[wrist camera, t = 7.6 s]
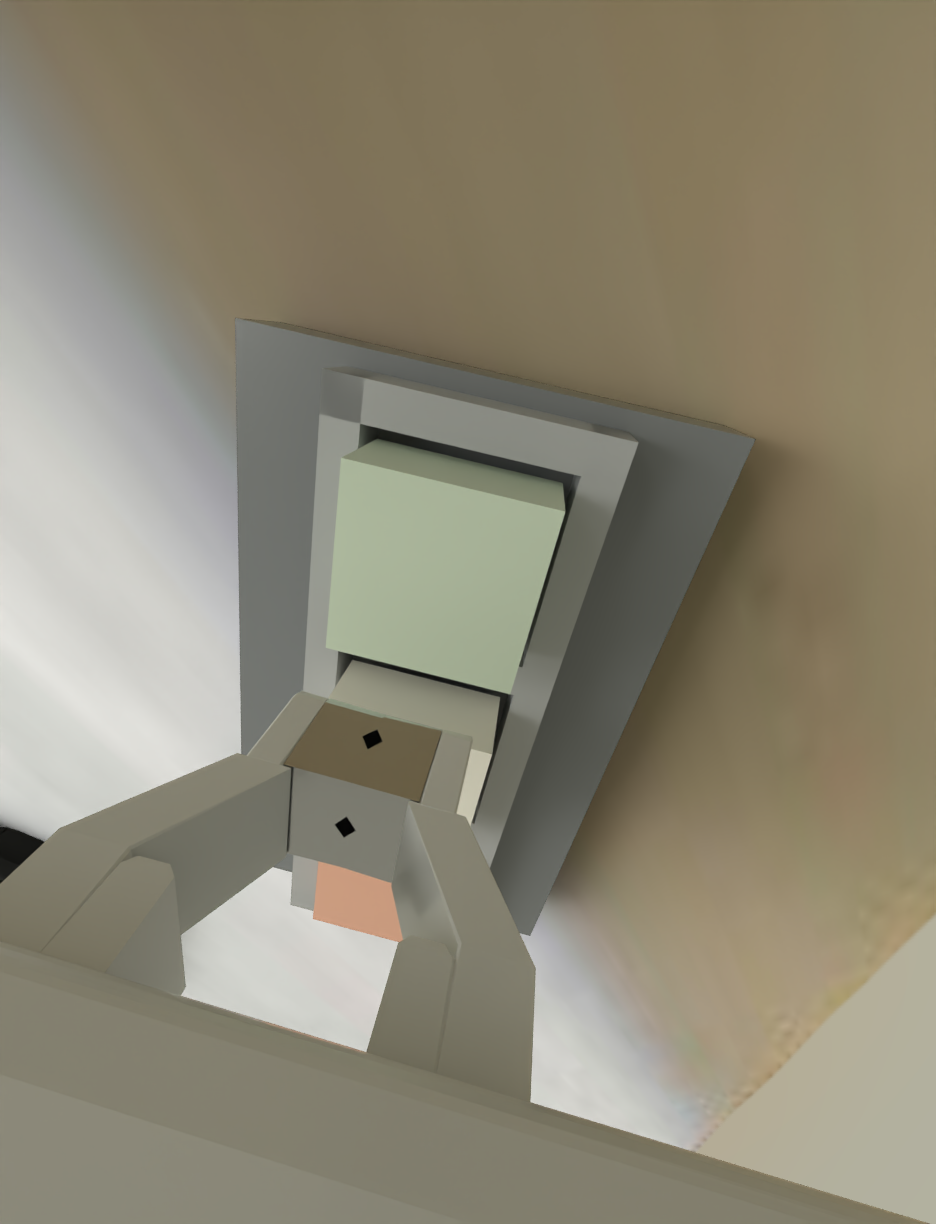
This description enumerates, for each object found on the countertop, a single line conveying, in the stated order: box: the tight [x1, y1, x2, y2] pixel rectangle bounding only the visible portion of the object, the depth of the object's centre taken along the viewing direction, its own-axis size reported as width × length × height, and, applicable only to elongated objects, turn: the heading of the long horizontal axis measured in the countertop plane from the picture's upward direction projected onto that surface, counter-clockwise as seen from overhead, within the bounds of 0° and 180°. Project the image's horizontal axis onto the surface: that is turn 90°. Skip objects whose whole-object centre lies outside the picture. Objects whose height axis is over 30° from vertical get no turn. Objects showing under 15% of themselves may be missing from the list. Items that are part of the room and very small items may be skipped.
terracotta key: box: [313, 861, 403, 942], centre depth 24 cm, size 6×6×3 cm
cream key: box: [328, 660, 500, 826], centre depth 19 cm, size 6×6×3 cm
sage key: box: [326, 439, 565, 694], centre depth 15 cm, size 6×6×3 cm
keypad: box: [235, 318, 755, 936], centre depth 22 cm, size 16×26×5 cm, turn 168°
